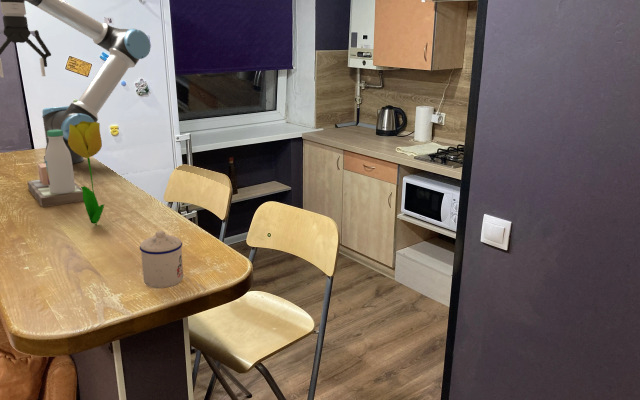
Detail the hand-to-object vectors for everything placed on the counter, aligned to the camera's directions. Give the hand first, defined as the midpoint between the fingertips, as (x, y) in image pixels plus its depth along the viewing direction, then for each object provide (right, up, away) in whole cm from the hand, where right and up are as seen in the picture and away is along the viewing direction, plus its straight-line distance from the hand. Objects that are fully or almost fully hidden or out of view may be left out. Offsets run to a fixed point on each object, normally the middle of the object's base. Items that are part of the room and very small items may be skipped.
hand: (23, 76), depth 196 cm
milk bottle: (+25, -43, -22) cm, 54 cm away
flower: (+44, -53, -42) cm, 81 cm away
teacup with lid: (+73, -63, -74) cm, 121 cm away
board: (+19, -43, -15) cm, 50 cm away
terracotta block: (+16, -39, -11) cm, 44 cm away
